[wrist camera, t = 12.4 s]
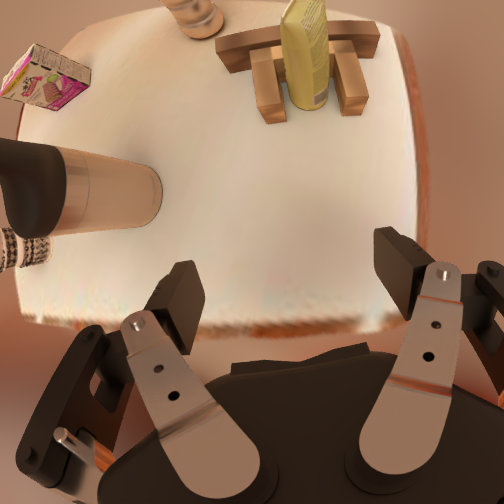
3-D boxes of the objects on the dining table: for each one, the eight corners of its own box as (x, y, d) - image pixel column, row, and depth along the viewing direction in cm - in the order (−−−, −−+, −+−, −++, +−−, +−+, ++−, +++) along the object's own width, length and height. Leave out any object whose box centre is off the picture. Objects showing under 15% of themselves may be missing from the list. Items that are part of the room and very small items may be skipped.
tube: (281, 81, 30) (250, -24, 11) (317, 70, 29) (315, -38, 10) (297, 116, 30) (280, 18, 11) (334, 105, 29) (354, 4, 10)
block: (267, 124, 31) (257, 106, 26) (259, 73, 31) (249, 50, 25) (360, 115, 29) (369, 96, 23) (347, 64, 28) (351, 40, 22)
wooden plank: (230, 73, 31) (215, 52, 26) (229, 60, 31) (214, 38, 25) (373, 58, 27) (380, 34, 21) (368, 45, 26) (374, 21, 21)
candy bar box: (56, 113, 40) (-3, 98, 24) (58, 95, 39) (2, 78, 23) (91, 87, 37) (28, 61, 21) (92, 68, 36) (34, 41, 21)
